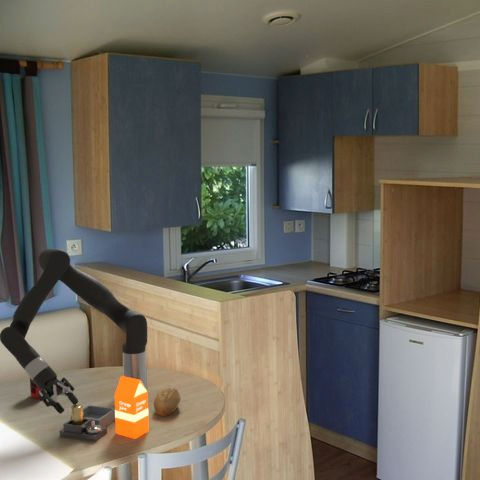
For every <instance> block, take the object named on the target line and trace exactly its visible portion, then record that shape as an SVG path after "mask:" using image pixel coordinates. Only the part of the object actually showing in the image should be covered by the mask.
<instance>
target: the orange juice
mask: <svg viewBox="0 0 480 480" xmlns="http://www.w3.org/2000/svg"><path fill="white" fill-rule="evenodd" d="M148 392H149V391H148V389H147V390H146V388H145V387H144V385H143V384H142V382H141V381H140V380H139V379H134V378H130V377H125V376H123V375H121V376H120V379H119V382H118V384H117V387H116V389H115V392H114V396H113V397H114V408H115V420H114V421H115V434H117V435H120V436H124V437H126V438H131V439H134V440H136V439H139V438H140V437H141V436H143V435H144V434H147V433H149V431H150V428H149V425H150V424H149V397H148V396H149V395H148V394H149V393H148Z"/></svg>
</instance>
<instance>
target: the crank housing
mask: <svg viewBox="0 0 480 480" xmlns="http://www.w3.org/2000/svg"><path fill="white" fill-rule="evenodd" d="M58 433H59V437H61V438H67V439H72V440H73V439H74V440H78V441H85V442H92V443H95V442H97V441H98V440H100V438H102V437H103V436H105V435H106V434H108V429H107V426H106V427H101V426H100V425H95V421H92V419H87V418H84V424H82V425H81V426H79V425H72V419H69V420H68V421H66V422H64V424H63V428H62V429H60V430H59V431H58Z"/></svg>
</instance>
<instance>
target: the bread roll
mask: <svg viewBox="0 0 480 480" xmlns="http://www.w3.org/2000/svg"><path fill="white" fill-rule="evenodd" d="M154 397H155V398H154V401H153V407H154V411H155V413H156V414H157V415H159V416H160V417H166V416H170V415H171V414H173V413H174V412H175V410H176V409H177V408H178V406H179V404H180V402H181V400H182V398H181V395H180V393H179V390H178V389H176V388H163V389H161V390H160V391H159V392H157V393H156V395H155V396H154Z"/></svg>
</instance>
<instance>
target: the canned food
mask: <svg viewBox="0 0 480 480" xmlns="http://www.w3.org/2000/svg"><path fill="white" fill-rule="evenodd" d="M29 386H30V396H31V398H32V399H34V400H42V399H41V398H40V397H39V395H38V393H39V392H40V391H41V390H42V389H39V388H38V387H37V385H36V384H35V383H34V382H33V381H32V379H31V378H30V377H29Z"/></svg>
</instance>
